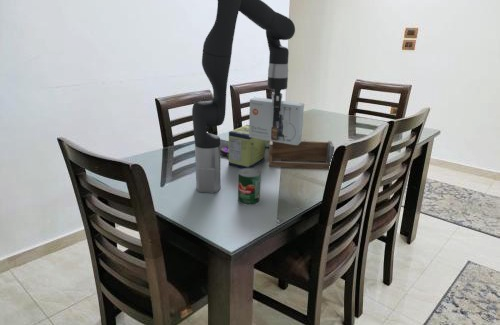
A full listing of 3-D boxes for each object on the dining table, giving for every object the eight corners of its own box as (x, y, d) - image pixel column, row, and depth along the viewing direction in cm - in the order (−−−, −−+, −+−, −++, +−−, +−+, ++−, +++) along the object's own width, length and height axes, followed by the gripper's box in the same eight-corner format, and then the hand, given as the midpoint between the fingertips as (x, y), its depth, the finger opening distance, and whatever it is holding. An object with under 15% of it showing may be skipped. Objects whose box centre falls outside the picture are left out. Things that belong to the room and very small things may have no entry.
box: (199, 151, 178) (229, 159, 168) (199, 144, 177) (229, 152, 166) (217, 144, 189) (247, 151, 178) (217, 138, 188) (247, 144, 177)
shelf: (331, 168, 158) (334, 147, 155) (268, 166, 159) (269, 144, 156) (328, 160, 168) (330, 139, 165) (268, 157, 170) (269, 137, 166)
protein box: (265, 159, 167) (266, 127, 161) (248, 170, 154) (248, 135, 149) (246, 155, 172) (246, 124, 166) (228, 165, 159) (228, 131, 154)
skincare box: (247, 137, 146) (249, 99, 140) (253, 134, 150) (254, 96, 145) (297, 146, 137) (300, 105, 132) (301, 142, 142) (305, 102, 136)
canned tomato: (260, 196, 131) (261, 168, 127) (259, 206, 124) (260, 176, 120) (238, 195, 131) (238, 167, 127) (237, 205, 124) (237, 175, 120)
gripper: (289, 78, 128) (286, 124, 134) (286, 73, 141) (284, 115, 147) (268, 78, 128) (266, 123, 134) (267, 73, 141) (265, 114, 147)
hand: (275, 118), depth 140 cm, fingers closed on skincare box, 6 cm apart
